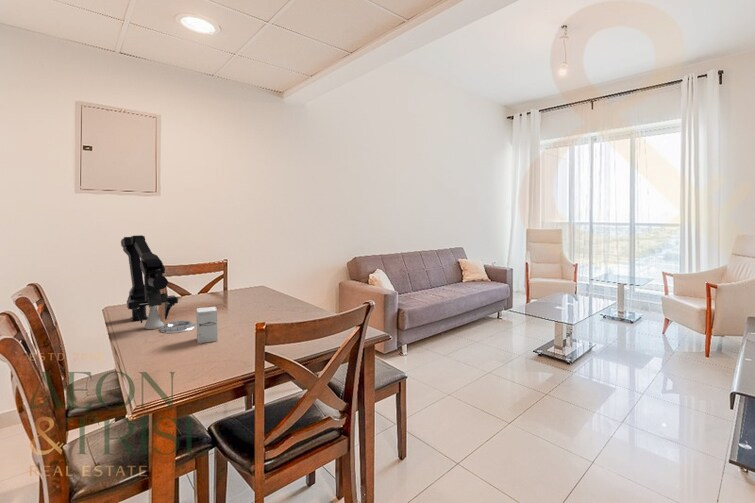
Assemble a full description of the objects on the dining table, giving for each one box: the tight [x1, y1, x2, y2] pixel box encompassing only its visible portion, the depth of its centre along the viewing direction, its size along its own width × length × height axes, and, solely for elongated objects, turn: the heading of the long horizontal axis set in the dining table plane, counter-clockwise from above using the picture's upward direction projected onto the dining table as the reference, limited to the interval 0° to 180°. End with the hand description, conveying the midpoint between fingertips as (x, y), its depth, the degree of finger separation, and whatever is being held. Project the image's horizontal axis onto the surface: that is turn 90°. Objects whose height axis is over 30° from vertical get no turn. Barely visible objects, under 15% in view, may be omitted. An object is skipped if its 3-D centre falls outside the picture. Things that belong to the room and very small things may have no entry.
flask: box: [143, 305, 165, 330], centre depth 165 cm, size 7×7×10 cm
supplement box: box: [195, 306, 219, 344], centre depth 149 cm, size 7×7×13 cm
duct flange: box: [159, 319, 197, 334], centre depth 164 cm, size 14×14×2 cm
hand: (153, 321), depth 165 cm, fingers open, 9 cm apart
